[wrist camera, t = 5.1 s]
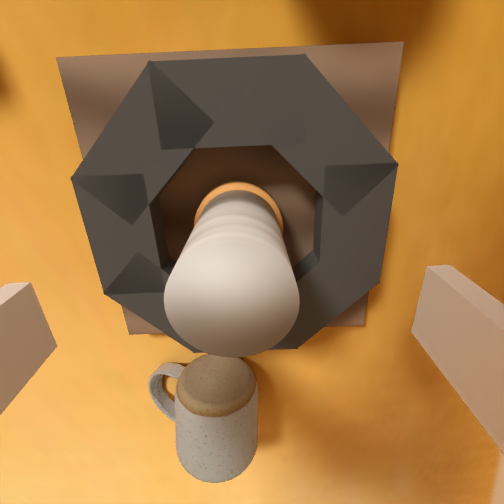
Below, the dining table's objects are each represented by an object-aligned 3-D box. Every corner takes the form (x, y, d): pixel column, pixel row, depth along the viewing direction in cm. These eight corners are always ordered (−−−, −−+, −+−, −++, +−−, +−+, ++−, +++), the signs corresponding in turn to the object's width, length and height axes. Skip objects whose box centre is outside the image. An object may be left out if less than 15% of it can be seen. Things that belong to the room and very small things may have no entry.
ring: (61, 71, 16) (37, 65, 14) (397, 56, 16) (417, 47, 14) (131, 337, 23) (121, 356, 21) (360, 328, 23) (370, 346, 21)
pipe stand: (74, 63, 19) (-227, -38, 7) (388, 49, 19) (637, -78, 7) (137, 320, 27) (49, 477, 15) (356, 311, 27) (442, 462, 15)
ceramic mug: (258, 346, 28) (259, 420, 21) (256, 405, 32) (257, 486, 25) (148, 345, 28) (113, 418, 21) (158, 404, 32) (131, 485, 25)
